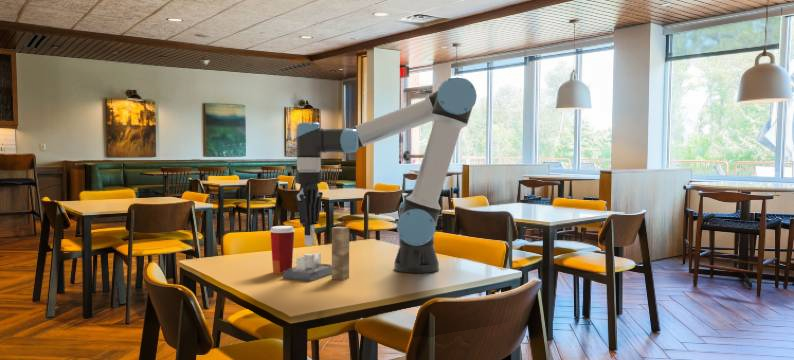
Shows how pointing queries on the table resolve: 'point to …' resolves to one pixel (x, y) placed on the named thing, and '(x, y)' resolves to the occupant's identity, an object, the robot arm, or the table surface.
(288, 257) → the coffee cup
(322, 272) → the breaker board
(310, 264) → the breaker paddle
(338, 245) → the mottled brown post
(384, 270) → the table surface
